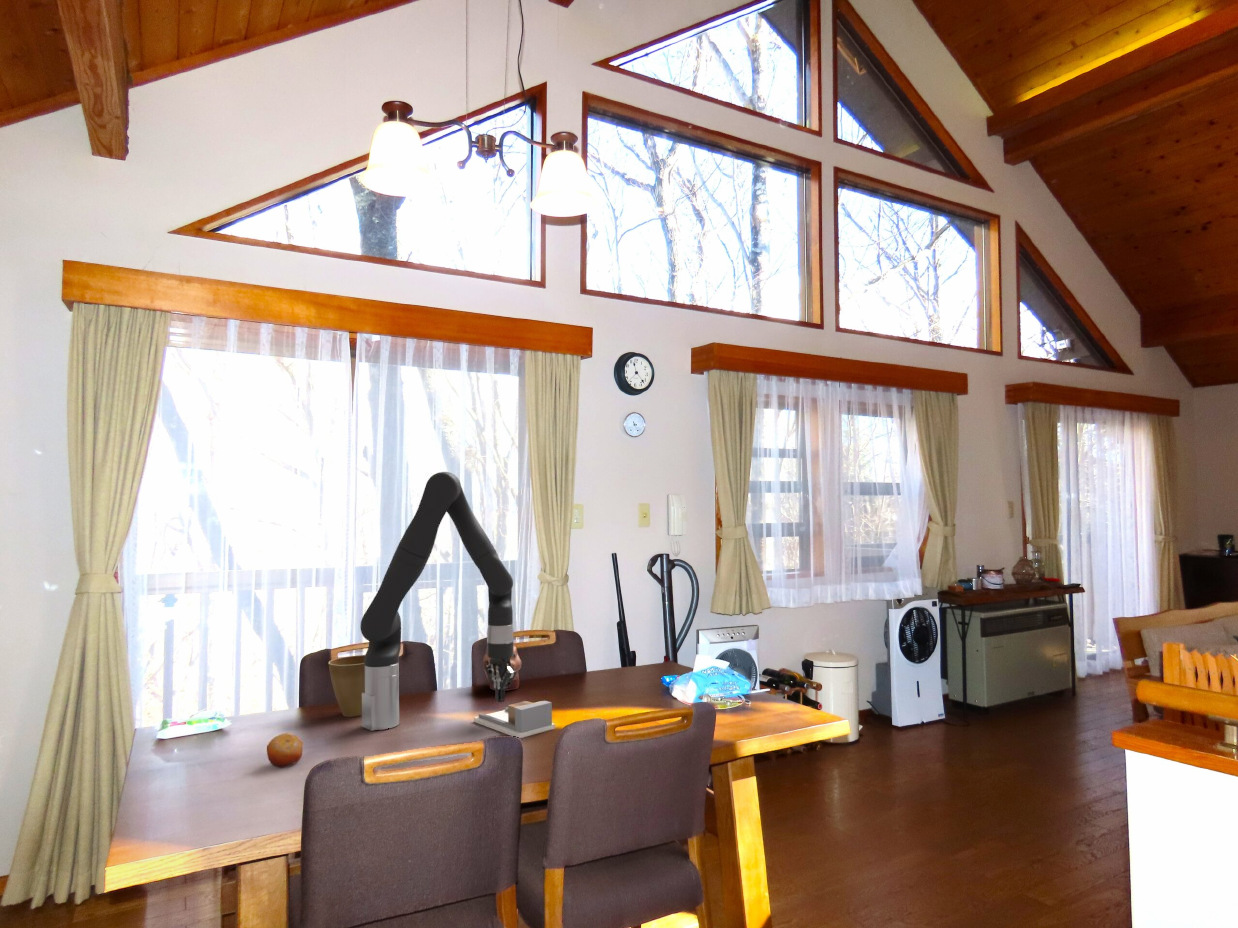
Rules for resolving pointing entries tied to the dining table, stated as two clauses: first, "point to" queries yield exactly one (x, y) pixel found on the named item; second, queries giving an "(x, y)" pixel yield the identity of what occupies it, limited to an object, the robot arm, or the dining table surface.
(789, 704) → the dining table surface
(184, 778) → the dining table surface
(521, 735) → the base
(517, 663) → the decorative planter
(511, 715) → the block
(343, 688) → the plant pot
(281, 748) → the fruit
